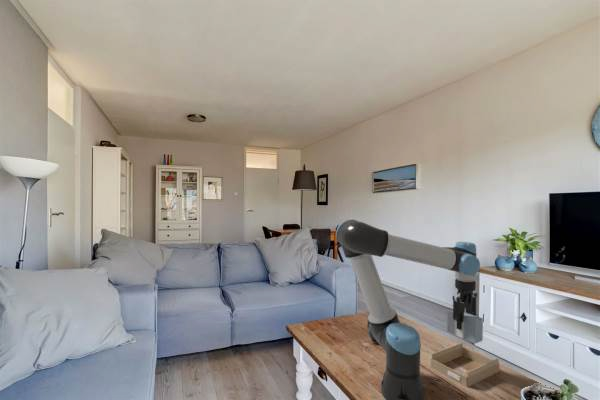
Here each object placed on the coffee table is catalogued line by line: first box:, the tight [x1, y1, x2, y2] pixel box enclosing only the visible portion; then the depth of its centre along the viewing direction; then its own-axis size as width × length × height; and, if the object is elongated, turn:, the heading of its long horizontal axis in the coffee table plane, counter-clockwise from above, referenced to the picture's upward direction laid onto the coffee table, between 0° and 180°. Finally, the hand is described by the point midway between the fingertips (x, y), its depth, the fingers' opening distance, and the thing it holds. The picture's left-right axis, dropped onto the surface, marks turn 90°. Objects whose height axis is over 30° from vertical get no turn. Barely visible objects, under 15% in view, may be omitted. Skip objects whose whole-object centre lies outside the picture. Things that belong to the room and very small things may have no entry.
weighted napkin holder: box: [446, 309, 484, 344], centre depth 125 cm, size 5×12×9 cm, turn 29°
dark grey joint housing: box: [366, 319, 379, 344], centre depth 156 cm, size 16×10×10 cm, turn 177°
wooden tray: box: [430, 342, 500, 388], centre depth 125 cm, size 22×16×6 cm
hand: (464, 335), depth 125 cm, fingers closed on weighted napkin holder, 5 cm apart
